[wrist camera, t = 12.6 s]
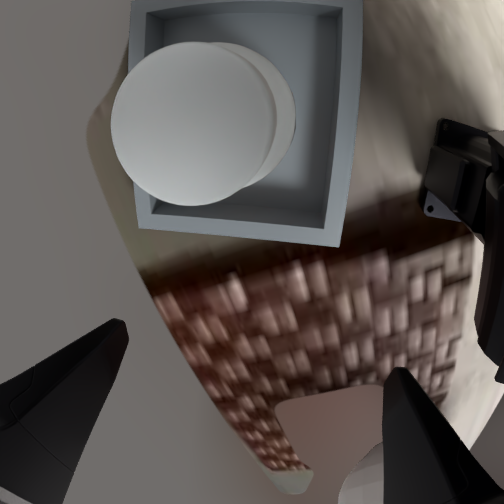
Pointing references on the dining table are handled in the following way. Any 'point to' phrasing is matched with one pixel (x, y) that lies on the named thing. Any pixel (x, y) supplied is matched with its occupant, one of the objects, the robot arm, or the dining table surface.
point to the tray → (307, 106)
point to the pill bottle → (202, 121)
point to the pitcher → (365, 480)
